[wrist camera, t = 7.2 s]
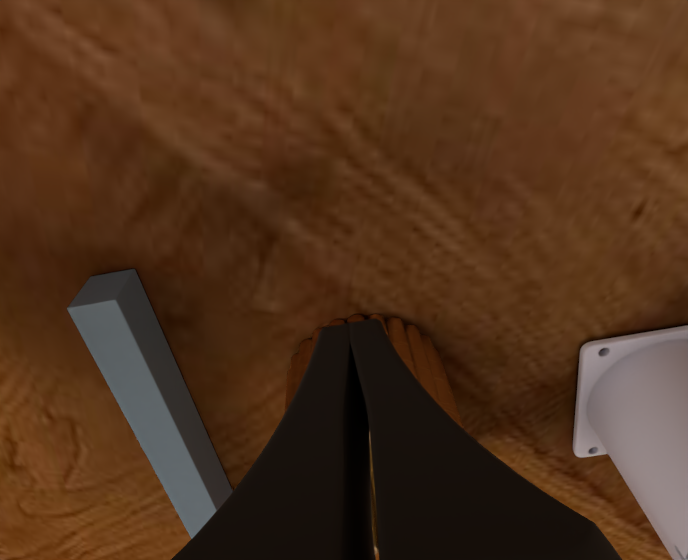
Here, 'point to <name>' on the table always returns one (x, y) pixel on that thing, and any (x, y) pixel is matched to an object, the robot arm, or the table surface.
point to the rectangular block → (151, 392)
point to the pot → (414, 355)
